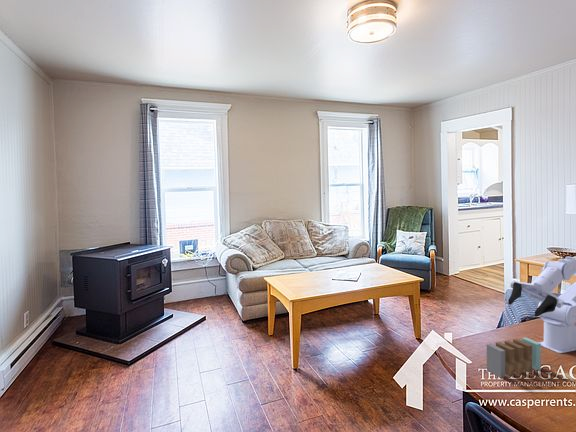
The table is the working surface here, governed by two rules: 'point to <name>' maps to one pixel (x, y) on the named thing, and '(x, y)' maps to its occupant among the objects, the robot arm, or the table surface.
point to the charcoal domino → (496, 360)
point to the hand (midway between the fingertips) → (522, 307)
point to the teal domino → (534, 353)
